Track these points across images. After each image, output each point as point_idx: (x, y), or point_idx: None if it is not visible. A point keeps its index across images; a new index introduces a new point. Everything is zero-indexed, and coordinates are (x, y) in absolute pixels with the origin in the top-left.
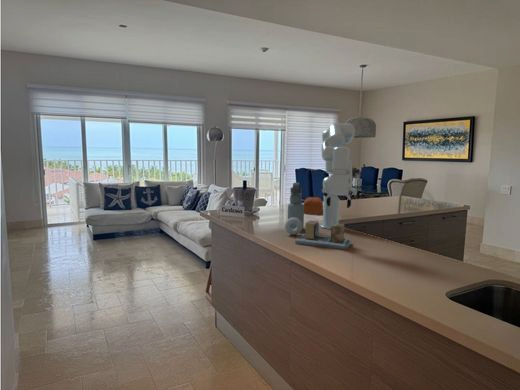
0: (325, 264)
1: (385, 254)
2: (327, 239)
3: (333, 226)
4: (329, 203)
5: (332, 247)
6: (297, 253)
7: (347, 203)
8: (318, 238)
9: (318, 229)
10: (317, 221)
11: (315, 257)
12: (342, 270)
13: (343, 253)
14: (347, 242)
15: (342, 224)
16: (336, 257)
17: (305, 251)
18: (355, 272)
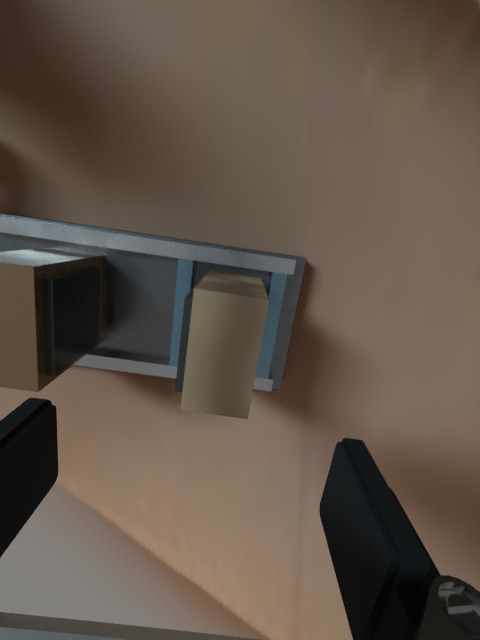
0: (209, 567)
1: (450, 398)
2: (164, 271)
3: (191, 408)
4: (32, 485)
5: None
6: (82, 486)
7: (341, 575)
8: (109, 264)
9: (79, 280)
10: (29, 278)
11: (162, 511)
12: (268, 599)
13: (265, 435)
14: (282, 305)
15: (254, 336)
16: (239, 491)
17: (104, 453)
18: (307, 604)
